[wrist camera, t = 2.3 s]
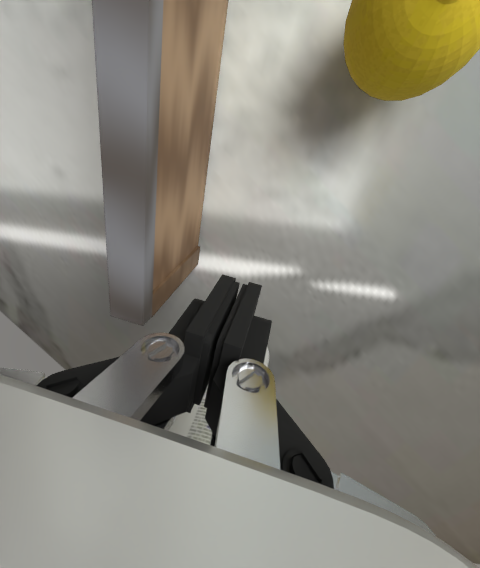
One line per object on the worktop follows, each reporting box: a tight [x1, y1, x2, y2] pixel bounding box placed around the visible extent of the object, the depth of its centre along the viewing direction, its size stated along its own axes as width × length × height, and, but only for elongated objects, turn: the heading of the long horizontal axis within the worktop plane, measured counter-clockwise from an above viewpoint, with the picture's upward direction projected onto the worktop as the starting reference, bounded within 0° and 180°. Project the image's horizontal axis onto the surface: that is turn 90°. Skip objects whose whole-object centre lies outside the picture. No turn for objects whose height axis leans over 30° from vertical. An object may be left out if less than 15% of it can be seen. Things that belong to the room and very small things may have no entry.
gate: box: [92, 0, 228, 326], centre depth 14 cm, size 20×2×9 cm, turn 169°
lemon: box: [344, 0, 480, 101], centre depth 11 cm, size 6×6×8 cm
